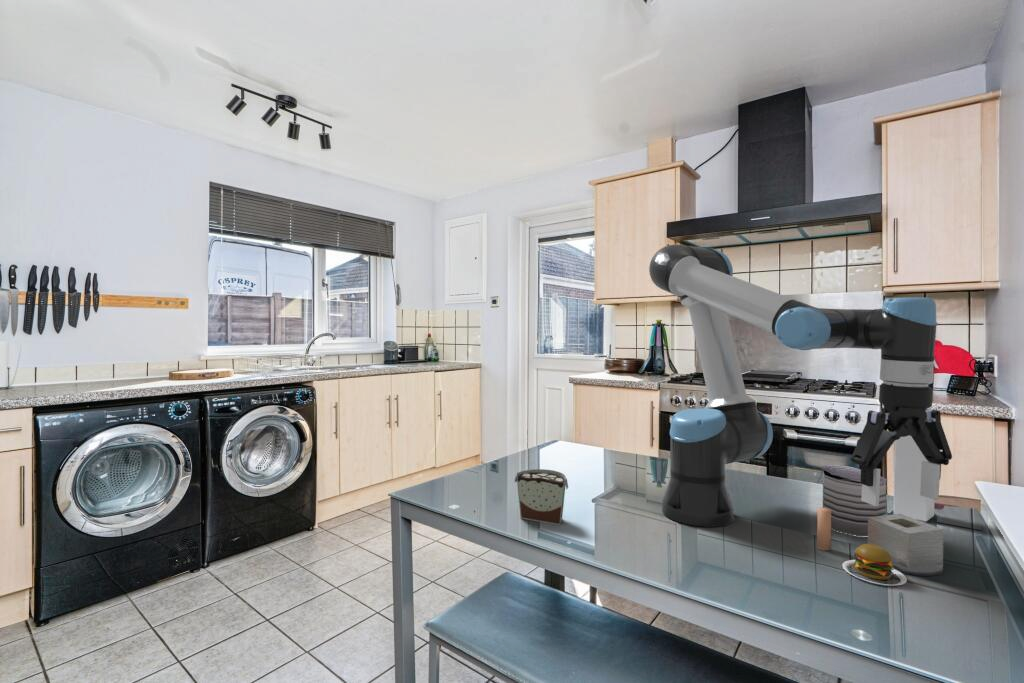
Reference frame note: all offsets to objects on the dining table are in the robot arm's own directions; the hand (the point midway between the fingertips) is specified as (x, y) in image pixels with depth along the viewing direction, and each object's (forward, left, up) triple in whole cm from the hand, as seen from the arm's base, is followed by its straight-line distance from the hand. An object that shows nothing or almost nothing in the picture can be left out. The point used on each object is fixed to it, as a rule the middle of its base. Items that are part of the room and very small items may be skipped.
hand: (900, 500), depth 90 cm
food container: (-66, +3, -11) cm, 67 cm away
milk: (+13, +27, -11) cm, 32 cm away
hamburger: (-7, -7, -12) cm, 15 cm away
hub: (0, 0, -11) cm, 11 cm away
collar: (0, 0, -10) cm, 10 cm away
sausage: (-12, +2, -11) cm, 16 cm away
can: (-2, +15, -11) cm, 19 cm away
